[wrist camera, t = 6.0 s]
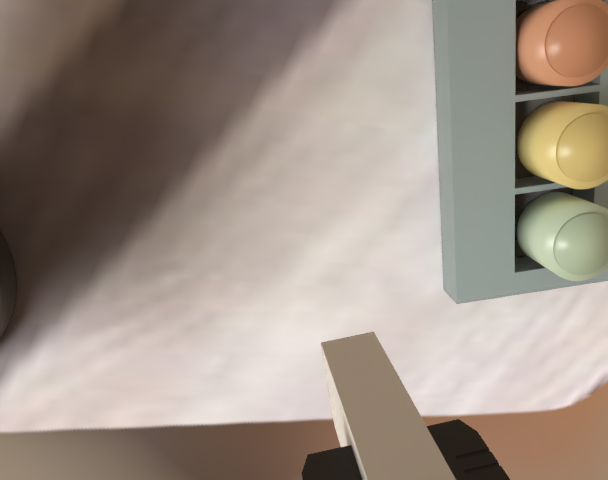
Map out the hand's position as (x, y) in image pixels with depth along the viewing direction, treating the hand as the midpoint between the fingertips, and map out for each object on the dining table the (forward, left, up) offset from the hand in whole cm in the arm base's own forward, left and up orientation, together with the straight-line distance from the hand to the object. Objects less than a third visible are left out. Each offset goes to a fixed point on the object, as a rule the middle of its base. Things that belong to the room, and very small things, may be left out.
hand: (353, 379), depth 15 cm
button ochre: (+18, +2, -21) cm, 27 cm away
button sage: (+18, -4, -21) cm, 28 cm away
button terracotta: (+18, +8, -22) cm, 30 cm away
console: (+18, +2, -23) cm, 29 cm away
